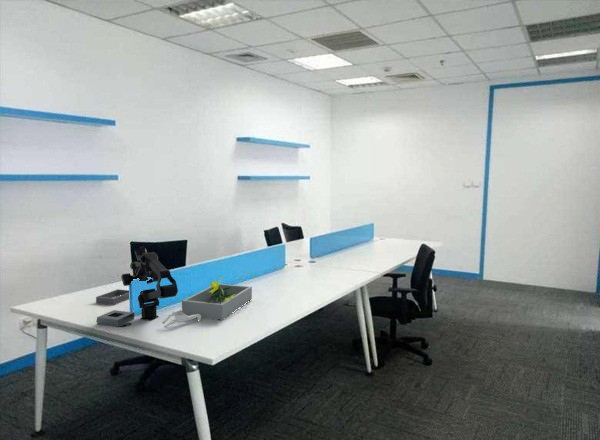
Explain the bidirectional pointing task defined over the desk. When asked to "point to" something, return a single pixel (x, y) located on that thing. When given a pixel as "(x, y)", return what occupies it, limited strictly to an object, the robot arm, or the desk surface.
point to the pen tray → (109, 296)
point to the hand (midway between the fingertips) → (137, 286)
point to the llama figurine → (180, 317)
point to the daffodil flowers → (218, 291)
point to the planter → (214, 310)
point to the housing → (115, 318)
